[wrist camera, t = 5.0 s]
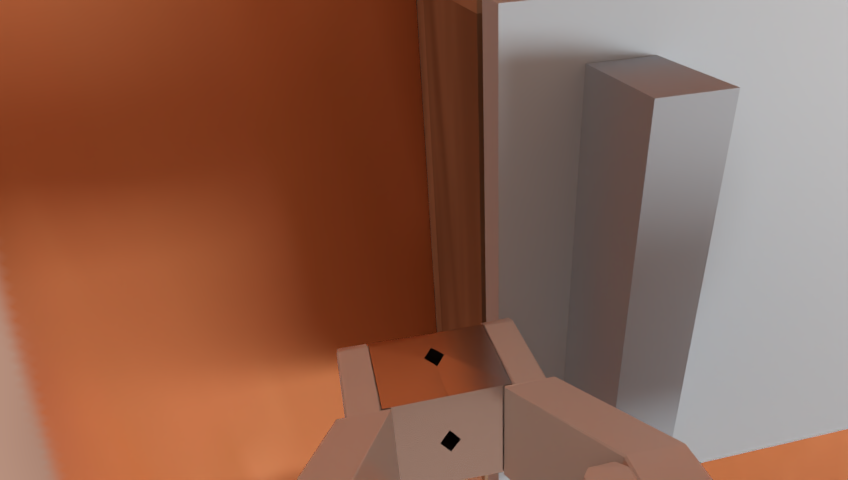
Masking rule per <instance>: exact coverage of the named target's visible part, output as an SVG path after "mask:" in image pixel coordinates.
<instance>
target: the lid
mask: <svg viewBox="0 0 848 480" xmlns="http://www.w3.org/2000/svg"><path fill="white" fill-rule="evenodd" d="M482 32H483V111H484V191H485V270H486V322H489V321H494V320H499V319H504V318H510V319H512V320H513V321H514V323H515V325H516V327H517V328H518V330H519V332H520V333H521V335H522V337H523V339H524V340H525V342H526V344H527V345H528V347H529V349H530V351H531V352H532V354H533V356H534V357H535V359H536V361H537V363H538V364H539V366H540V368H541V370H542V371H543V373H544V375H545V376H546V378H549V377H554V376H555V377H557V378H559V379H561V380H563V381H565V382H567V383H568V384H570V385H572V386H574V387H576V388H578V389H580V390H582V391H584V392H586V393H588V394H590V395H592V396H594V397H596V398H598V399H599V400H601V401H603V402H605V403H607V404H609V405H611V406H613V407H615V408H617V409H619V410H621V411H623V412H625V413H627V414H629V415H630V416H632V417H634V418H636V419H638V420H640V421H642V422H644V423H646V424H648V425H650V426H652V427H654V428H656V429H658V430H660V431H661V432H663V433H665V434H667V435H669V436H671V437H673V438H675V439H677V440H679V441H681V442H683V443H685V444H686V445H687V446H688V448H689V449H690V450H691V452H692V453H693V454H694V456H695V457H696V458H697V460H698V461H699V462H700V463H703V462H707V461H712V460H716V459H720V458H724V457H729V456H733V455H737V454H742V453H746V452H750V451H755V450H759V449H763V448H768V447H772V446H776V445H780V444H785V443H789V442H793V441H798V440H802V439H806V438H811V437H815V436H819V435H823V434H828V433H832V432H836V431H841V430H845V429H848V0H482ZM488 480H510V479H509V478H508V477H507V476H505V475H504V472H500V473H495V474H490V475H488Z"/></svg>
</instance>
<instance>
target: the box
mask: <svg viewBox="0 0 848 480" xmlns="http://www.w3.org/2000/svg"><path fill="white" fill-rule="evenodd" d="M416 5H417V21H418V37H419V53H420V69H421V85H422V102H423V118H424V134H425V150H426V166H427V182H428V198H429V215H430V231H431V247H432V263H433V279H434V295H435V311H436V328H437V332H442V331H447V330H452V329H458V328H463V327H469V326H474V325H480V324H481V323H485V322H486V270H485V191H484V111H483V32H482V0H416ZM481 477H482V480H488V475H485V476H481Z"/></svg>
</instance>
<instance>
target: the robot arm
mask: <svg viewBox="0 0 848 480" xmlns="http://www.w3.org/2000/svg"><path fill="white" fill-rule="evenodd" d="M337 361H338V369H339V376H340V384H341V391H342V399H343V406H344V414H345V418H342V419H337V420H336V421H335V422H334V424H333V425H332V427H331V428H330V430H329V431H328V433H327V434H326V436H325V437H324V439H323V440H322V442H321V443H320V445H319V446H318V448H317V450H316V451H315V453H314V454H313V456H312V457H311V459H310V460H309V462H308V463H307V465H306V466H305V468H304V469H303V471H302V472H301V474H300V475H299V477H298V479H297V480H464V479H469V478H474V477H479V476H485V475H490V474H495V473H500V472H504V475H505V476H507V477H508V478H509V479H510V480H713V479H712V478H711V477H710V475H709V474H708V473H707V471H706V470H705V469H704V467H703V466H702V465H701V463H700V462H699V461H698V460H697V458H696V457H695V456H694V454H693V453H692V452H691V450H690V449H689V448H688V446H687V445H686V444H685V443H683V442H681V441H679V440H677V439H675V438H673V437H671V436H669V435H667V434H665V433H663V432H661V431H660V430H658V429H656V428H654V427H652V426H650V425H648V424H646V423H644V422H642V421H640V420H638V419H636V418H634V417H632V416H630V415H629V414H627V413H625V412H623V411H621V410H619V409H617V408H615V407H613V406H611V405H609V404H607V403H605V402H603V401H601V400H599V399H598V398H596V397H594V396H592V395H590V394H588V393H586V392H584V391H582V390H580V389H578V388H576V387H574V386H572V385H570V384H568V383H567V382H565V381H563V380H561V379H559V378H557V377H555V376H554V377H549V378H546V376H545V375H544V373H543V371H542V370H541V368H540V366H539V364H538V363H537V361H536V359H535V357H534V356H533V354H532V352H531V351H530V349H529V347H528V345H527V344H526V342H525V340H524V339H523V337H522V335H521V333H520V332H519V330H518V328H517V327H516V325H515V323H514V321H513V320H512V319H510V318H504V319H499V320H494V321H489V322H485V323H481V324H480V325H474V326H469V327H463V328H458V329H452V330H447V331H442V332H436V333H431V334H426V335H425V334H423V335H417V336H411V337H404V338H398V339H392V340H386V341H379V342H373V343H368V346H367V345H366V344H362V345H356V346H350V347H344V348H339V349H337Z"/></svg>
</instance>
